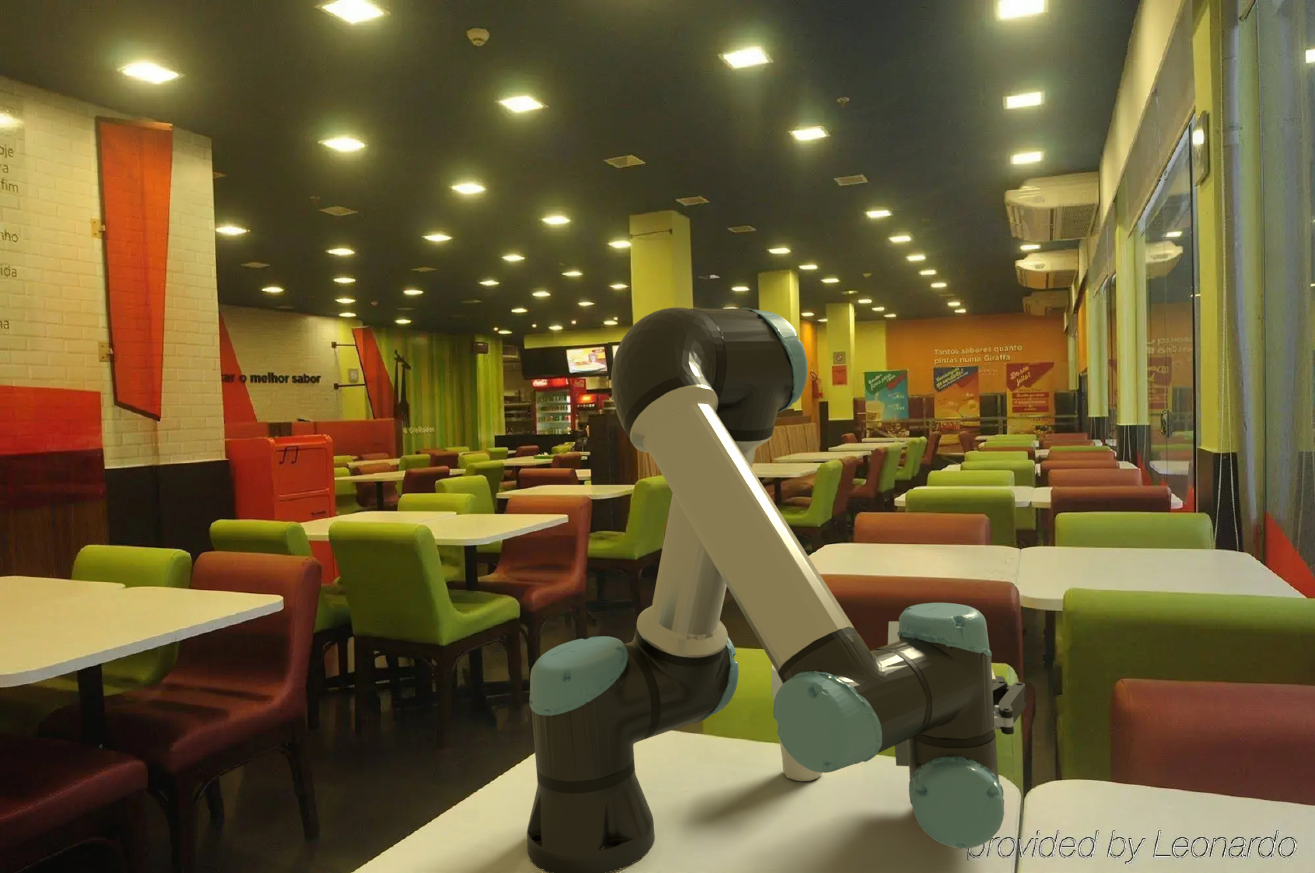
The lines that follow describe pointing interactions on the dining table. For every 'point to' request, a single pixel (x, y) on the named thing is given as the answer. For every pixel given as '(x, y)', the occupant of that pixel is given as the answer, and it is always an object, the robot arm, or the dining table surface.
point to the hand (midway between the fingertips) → (937, 672)
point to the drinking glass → (789, 763)
